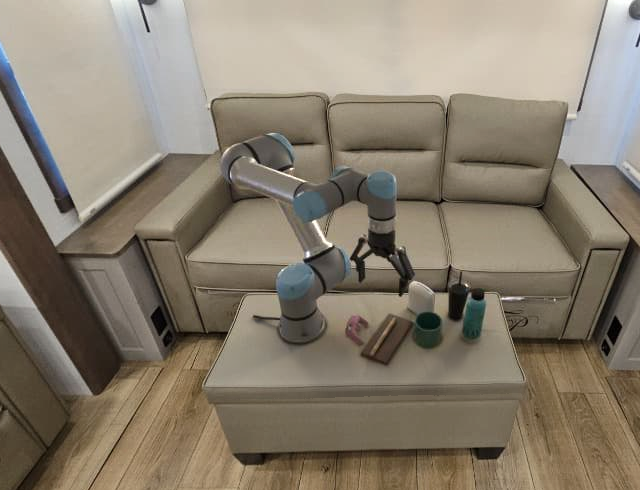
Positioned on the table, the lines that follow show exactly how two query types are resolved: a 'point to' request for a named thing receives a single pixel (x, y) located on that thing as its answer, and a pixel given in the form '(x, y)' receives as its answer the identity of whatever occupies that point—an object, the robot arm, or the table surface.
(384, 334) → the stirrer
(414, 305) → the photo printer
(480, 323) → the beverage bottle
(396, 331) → the board
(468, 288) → the drinking cup
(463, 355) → the table surface
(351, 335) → the video game controller
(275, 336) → the table surface
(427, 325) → the coffee cup
